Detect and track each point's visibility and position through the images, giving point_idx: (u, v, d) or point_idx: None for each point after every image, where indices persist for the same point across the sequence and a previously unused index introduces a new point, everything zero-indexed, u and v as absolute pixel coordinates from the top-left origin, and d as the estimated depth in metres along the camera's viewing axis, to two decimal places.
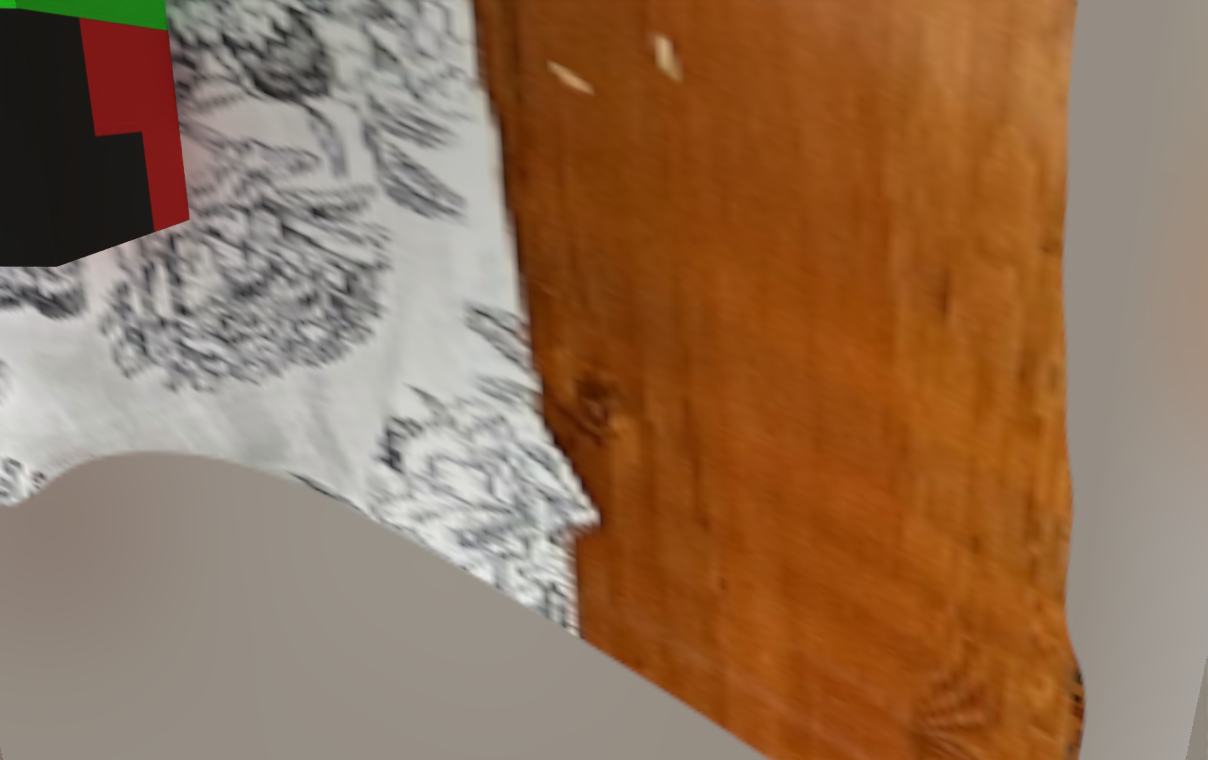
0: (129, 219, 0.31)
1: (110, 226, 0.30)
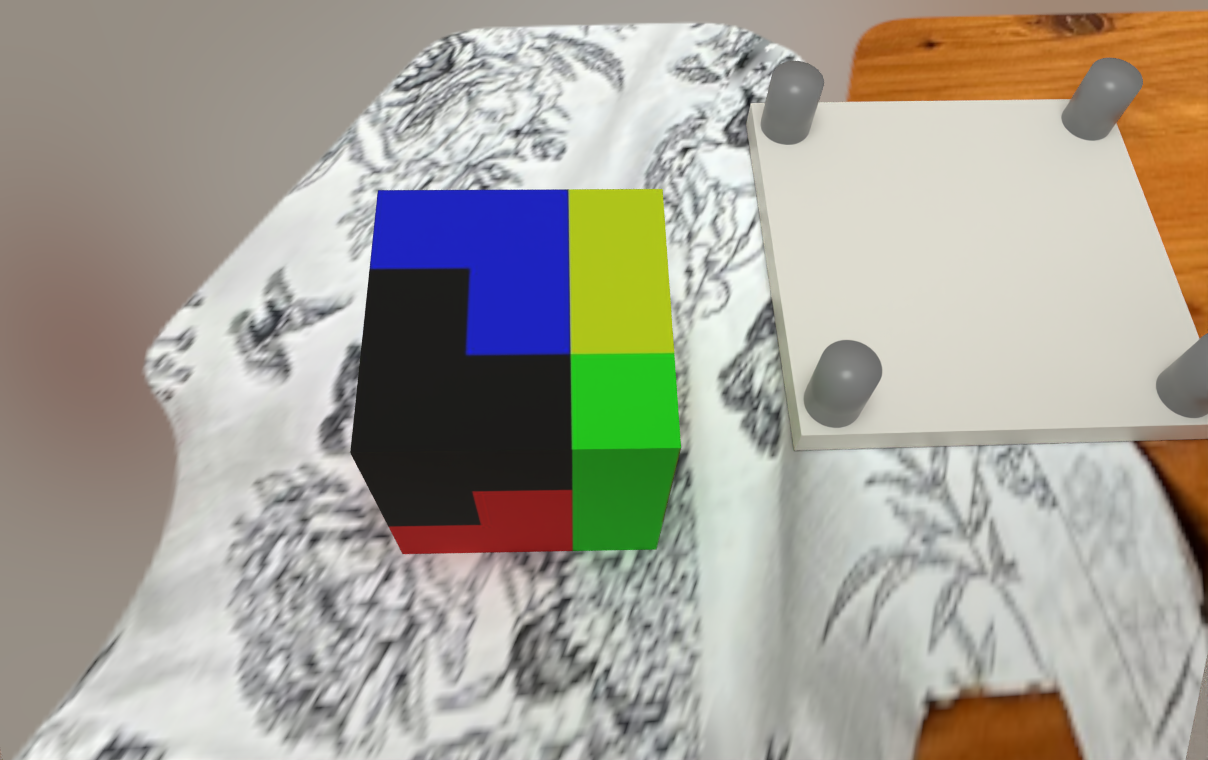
0: (399, 509, 0.33)
1: (390, 494, 0.32)
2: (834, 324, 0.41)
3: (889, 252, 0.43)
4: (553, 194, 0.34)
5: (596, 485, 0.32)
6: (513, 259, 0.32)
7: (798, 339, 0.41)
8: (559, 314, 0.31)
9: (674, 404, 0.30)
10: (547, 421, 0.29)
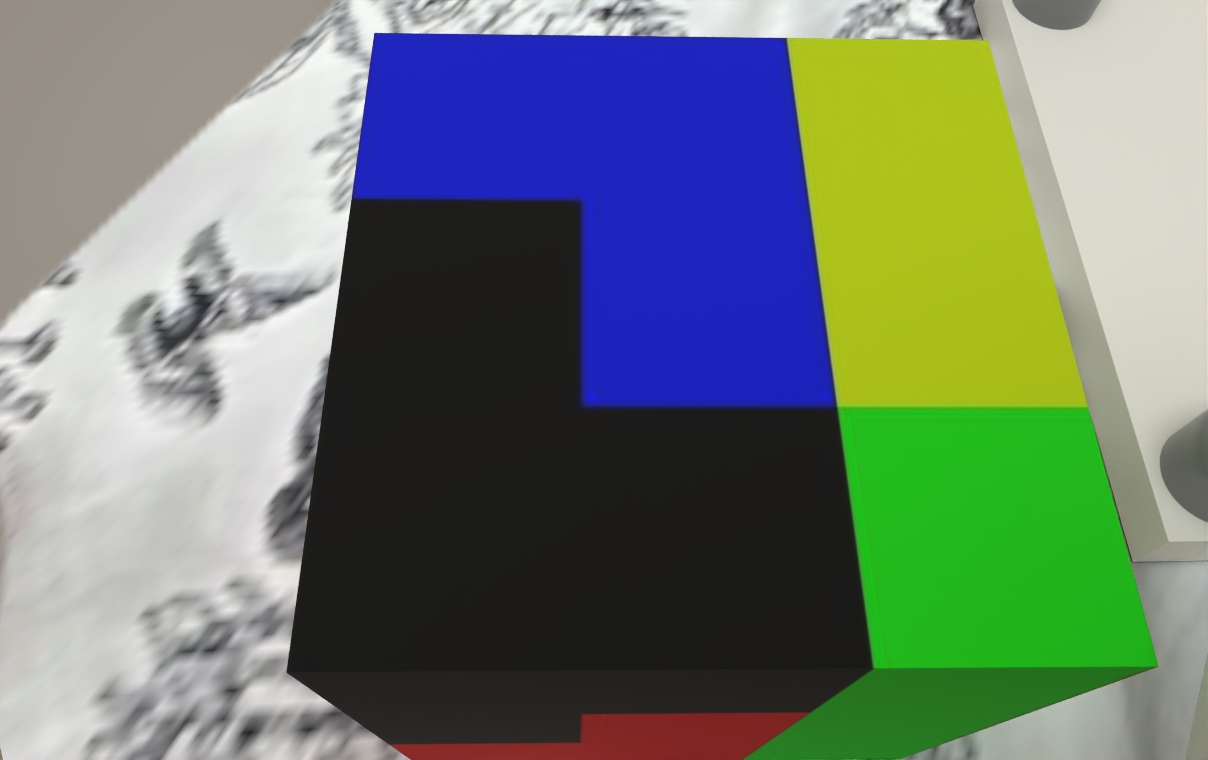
0: (412, 730, 0.15)
1: (394, 717, 0.14)
2: (1192, 331, 0.23)
3: None
4: (755, 47, 0.15)
5: (870, 708, 0.14)
6: (681, 182, 0.14)
7: (1132, 358, 0.23)
8: (798, 308, 0.13)
9: (1116, 542, 0.12)
10: (801, 587, 0.11)
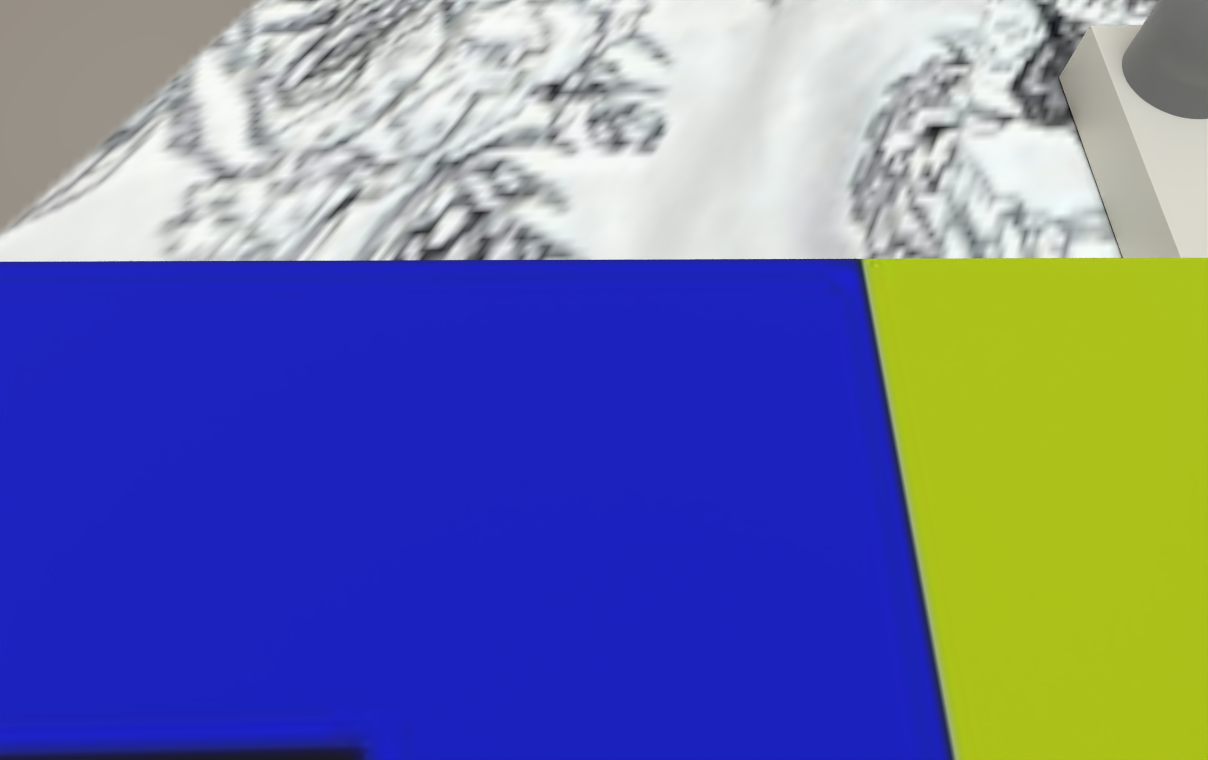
0: None
1: None
2: None
3: None
4: (794, 283, 0.07)
5: None
6: (626, 678, 0.06)
7: None
8: None
9: None
10: None
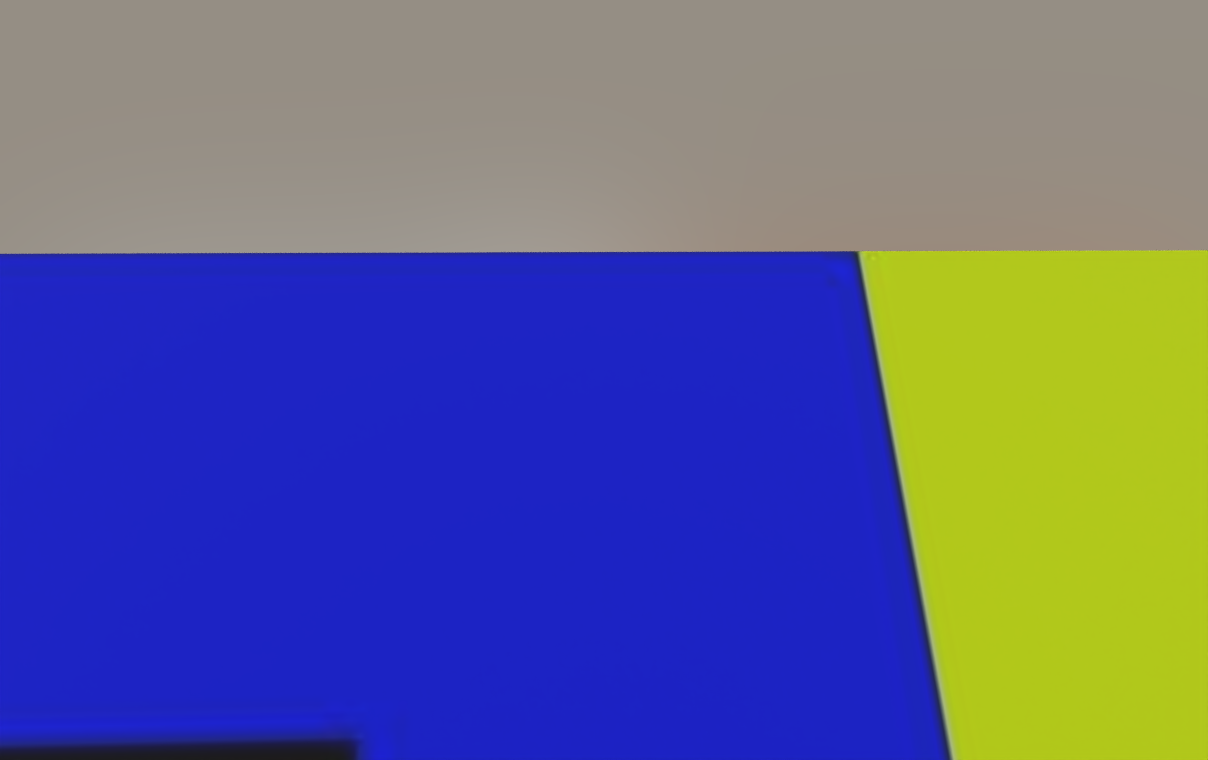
0: None
1: None
2: None
3: None
4: (789, 275, 0.07)
5: None
6: (619, 669, 0.06)
7: None
8: None
9: None
10: None
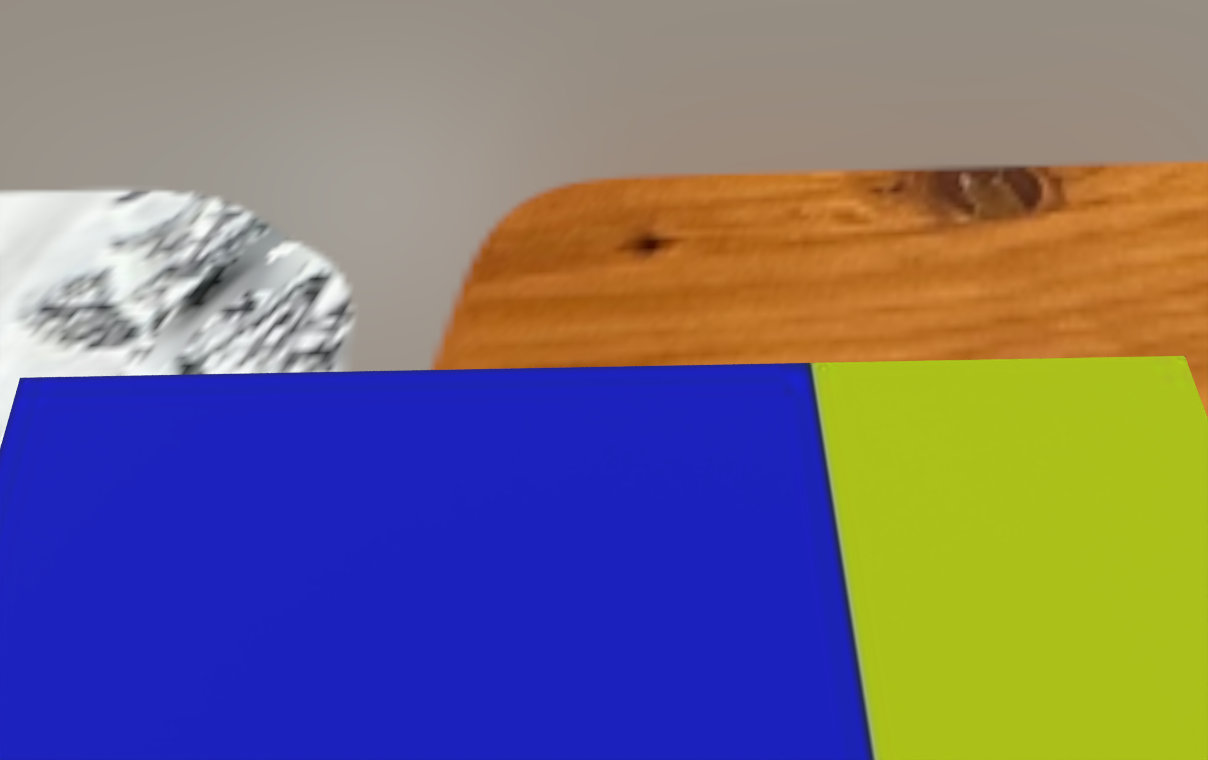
0: None
1: None
2: None
3: None
4: (752, 386, 0.08)
5: None
6: (609, 732, 0.07)
7: None
8: None
9: None
10: None
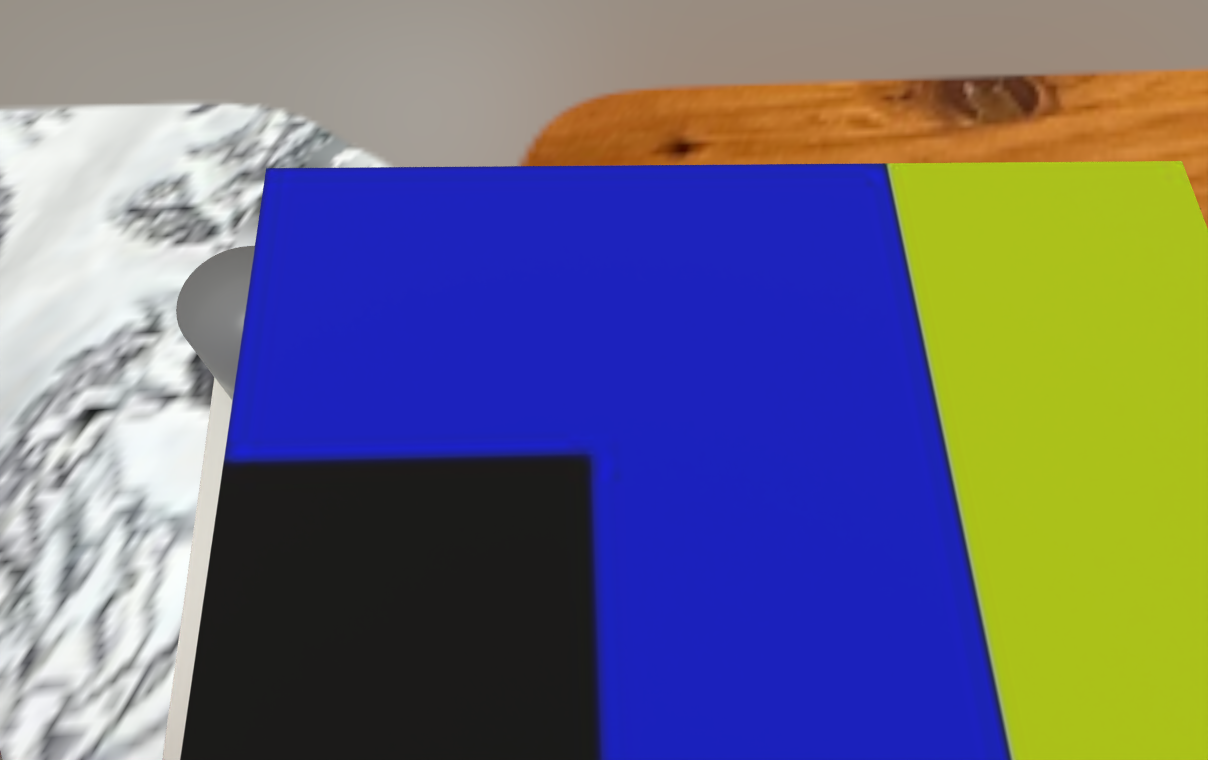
0: None
1: None
2: None
3: None
4: (841, 179, 0.10)
5: None
6: (745, 415, 0.09)
7: None
8: (948, 649, 0.08)
9: None
10: None
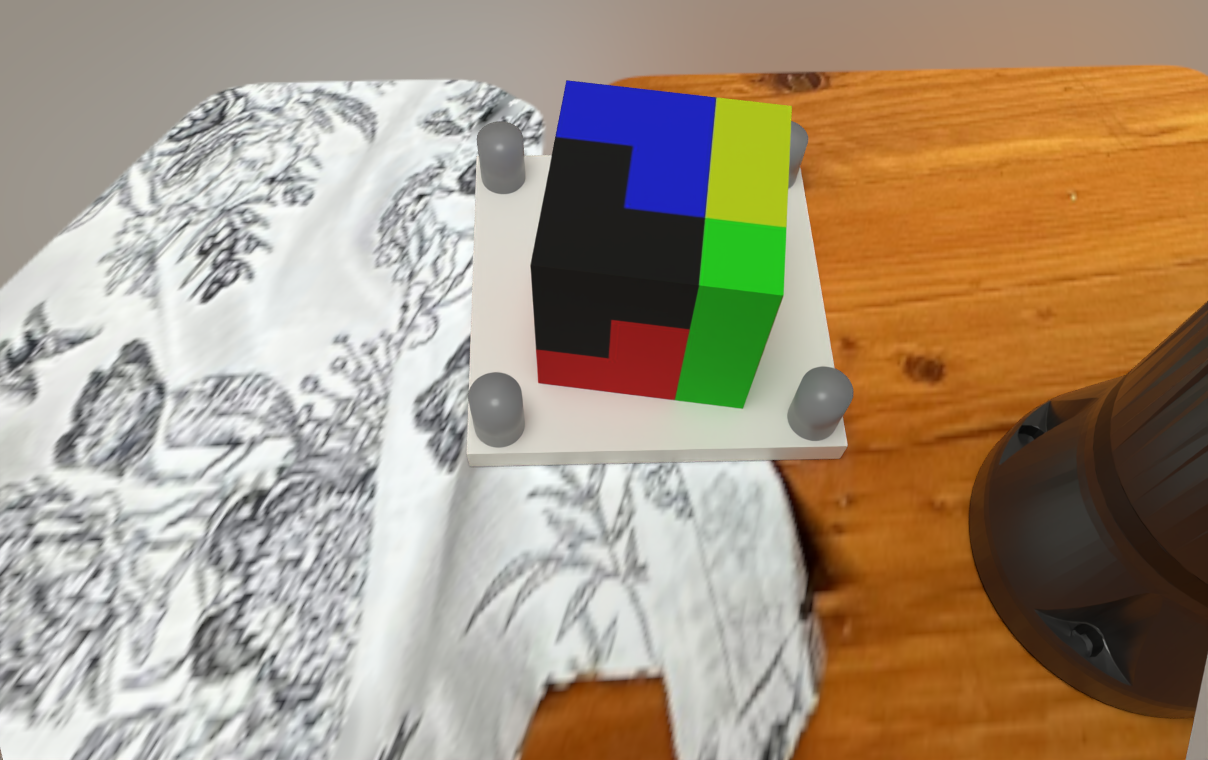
0: (549, 330, 0.42)
1: (547, 314, 0.41)
2: (514, 356, 0.47)
3: None
4: (704, 99, 0.42)
5: (709, 327, 0.40)
6: (668, 143, 0.41)
7: (479, 369, 0.47)
8: (699, 188, 0.40)
9: (782, 264, 0.38)
10: (682, 263, 0.38)
